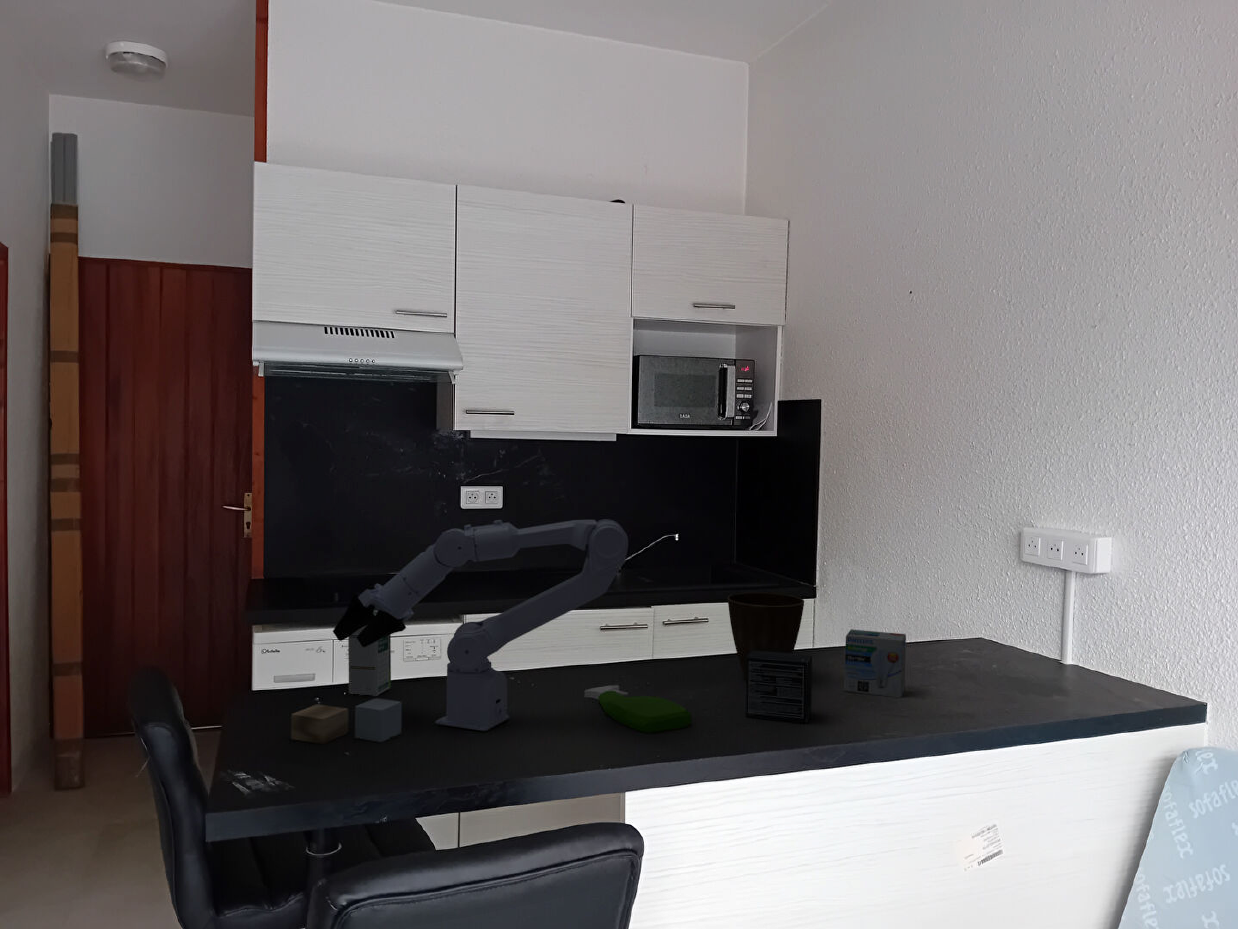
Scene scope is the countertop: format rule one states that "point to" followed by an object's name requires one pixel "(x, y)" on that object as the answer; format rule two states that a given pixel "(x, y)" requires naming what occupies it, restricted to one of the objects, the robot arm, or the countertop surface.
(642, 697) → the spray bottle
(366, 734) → the blue-grey cube
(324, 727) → the oak block
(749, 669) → the small box
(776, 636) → the plant pot
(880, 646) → the light bulb box
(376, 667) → the syrup box
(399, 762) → the countertop surface
